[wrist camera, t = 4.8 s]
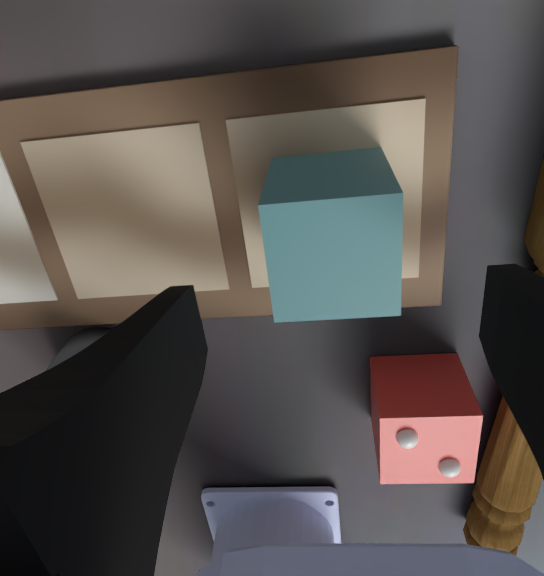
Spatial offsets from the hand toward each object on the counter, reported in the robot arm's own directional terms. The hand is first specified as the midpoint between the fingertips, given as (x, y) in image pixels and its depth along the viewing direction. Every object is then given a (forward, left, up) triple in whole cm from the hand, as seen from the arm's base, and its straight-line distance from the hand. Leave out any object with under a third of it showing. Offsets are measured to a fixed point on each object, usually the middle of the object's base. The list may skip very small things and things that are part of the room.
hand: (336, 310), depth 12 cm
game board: (0, +8, -8) cm, 11 cm away
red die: (-10, -3, -8) cm, 13 cm away
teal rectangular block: (0, 0, -8) cm, 8 cm away
